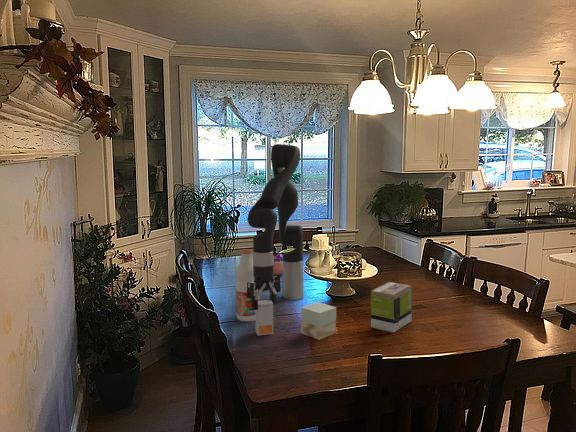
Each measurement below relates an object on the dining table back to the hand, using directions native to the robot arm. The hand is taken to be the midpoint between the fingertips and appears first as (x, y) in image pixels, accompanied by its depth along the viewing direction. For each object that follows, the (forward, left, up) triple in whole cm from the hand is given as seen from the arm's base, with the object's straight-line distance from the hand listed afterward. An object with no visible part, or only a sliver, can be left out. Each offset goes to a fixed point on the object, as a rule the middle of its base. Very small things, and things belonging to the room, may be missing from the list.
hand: (264, 306), depth 177 cm
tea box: (+28, +40, -11) cm, 50 cm away
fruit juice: (-17, +6, -10) cm, 21 cm away
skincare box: (0, 0, -10) cm, 10 cm away
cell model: (-61, +59, -11) cm, 86 cm away
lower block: (+14, +14, -10) cm, 22 cm away
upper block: (+14, +14, -5) cm, 21 cm away
